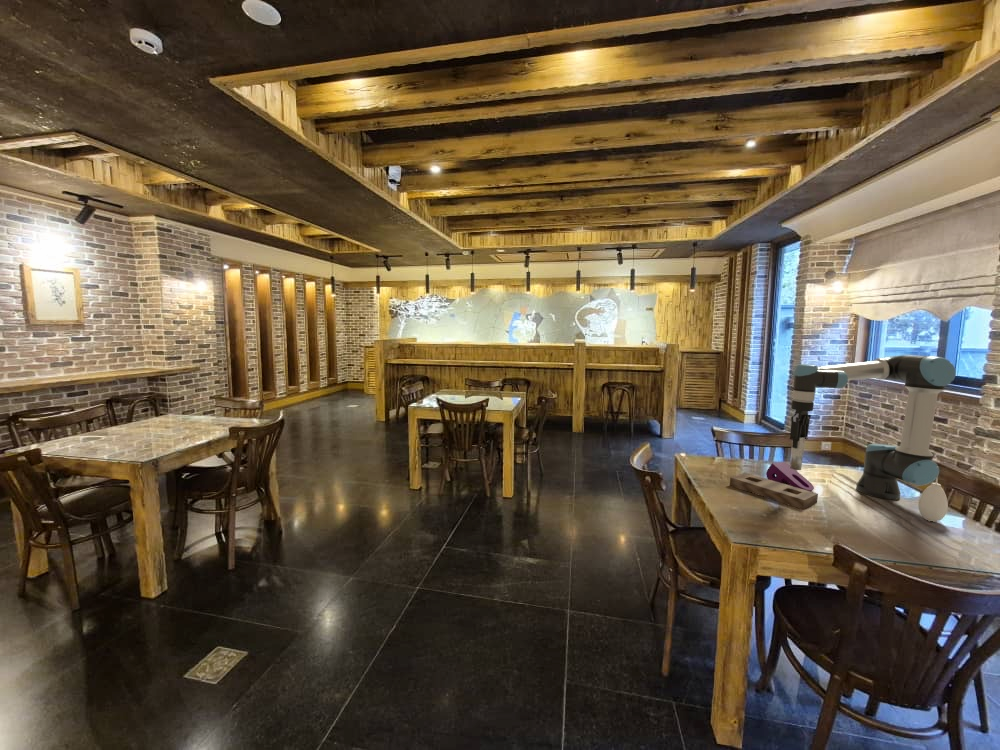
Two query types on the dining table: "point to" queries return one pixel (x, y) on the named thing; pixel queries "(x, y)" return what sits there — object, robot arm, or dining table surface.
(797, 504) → the mount plate
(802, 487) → the mounting bracket
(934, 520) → the white rounded egg-shaped figurine
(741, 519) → the dining table surface
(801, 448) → the steel pin
